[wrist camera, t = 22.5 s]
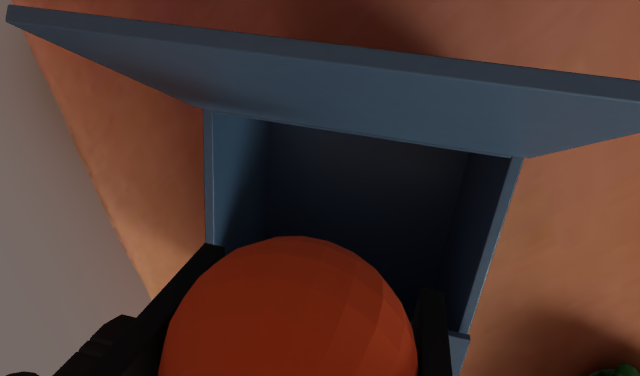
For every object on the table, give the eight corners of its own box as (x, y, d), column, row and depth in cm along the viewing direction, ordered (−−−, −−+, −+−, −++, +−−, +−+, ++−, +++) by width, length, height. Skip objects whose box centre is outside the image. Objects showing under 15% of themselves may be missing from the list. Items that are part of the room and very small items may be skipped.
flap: (195, 107, 18) (196, 98, 18) (529, 158, 16) (531, 148, 16) (3, 21, 9) (6, 3, 9) (724, 114, 7) (728, 90, 7)
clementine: (303, 398, 17) (235, 633, 10) (176, 286, 16) (16, 469, 10) (462, 301, 14) (506, 559, 7) (313, 154, 13) (211, 297, 6)
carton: (269, 72, 27) (193, 104, 18) (489, 102, 25) (532, 155, 16) (259, 297, 35) (202, 401, 25) (427, 335, 33) (431, 463, 23)
